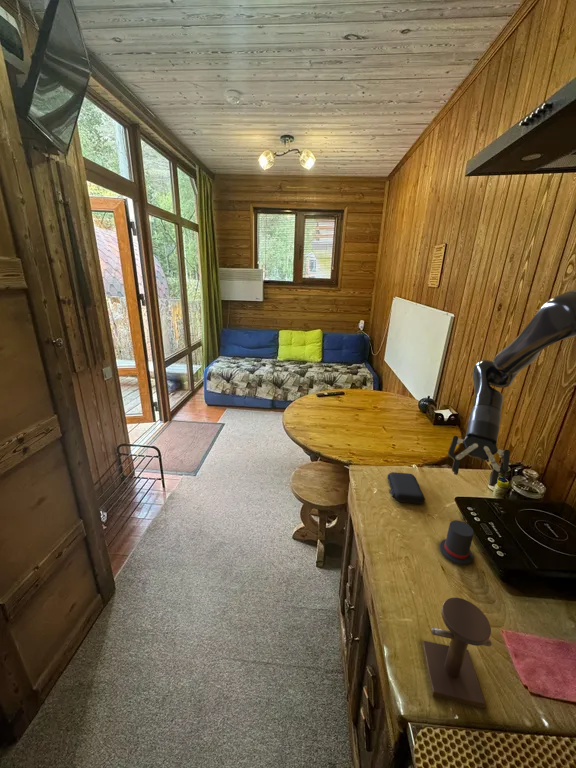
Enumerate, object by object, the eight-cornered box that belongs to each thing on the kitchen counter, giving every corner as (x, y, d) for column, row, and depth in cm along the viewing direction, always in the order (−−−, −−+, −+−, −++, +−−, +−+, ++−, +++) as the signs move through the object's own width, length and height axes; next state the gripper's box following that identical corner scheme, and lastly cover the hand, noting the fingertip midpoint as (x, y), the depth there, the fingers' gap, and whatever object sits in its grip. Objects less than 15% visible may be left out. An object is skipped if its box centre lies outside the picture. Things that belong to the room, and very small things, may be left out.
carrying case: (383, 476, 111) (390, 503, 97) (384, 469, 110) (391, 495, 96) (413, 479, 110) (425, 507, 96) (414, 471, 109) (427, 499, 95)
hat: (472, 549, 81) (479, 524, 79) (472, 570, 75) (478, 544, 72) (441, 537, 85) (446, 513, 82) (437, 556, 78) (443, 531, 76)
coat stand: (470, 654, 58) (487, 600, 53) (488, 709, 50) (509, 651, 46) (418, 643, 59) (429, 589, 55) (427, 695, 52) (442, 637, 47)
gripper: (458, 413, 87) (446, 468, 83) (518, 427, 81) (508, 488, 77) (453, 421, 94) (442, 472, 89) (508, 435, 88) (499, 490, 83)
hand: (473, 479), depth 83 cm, fingers open, 8 cm apart
